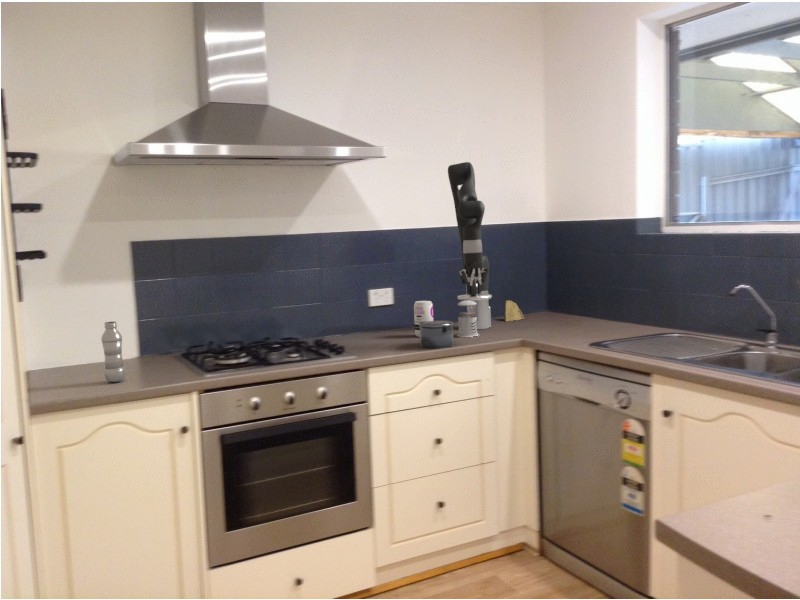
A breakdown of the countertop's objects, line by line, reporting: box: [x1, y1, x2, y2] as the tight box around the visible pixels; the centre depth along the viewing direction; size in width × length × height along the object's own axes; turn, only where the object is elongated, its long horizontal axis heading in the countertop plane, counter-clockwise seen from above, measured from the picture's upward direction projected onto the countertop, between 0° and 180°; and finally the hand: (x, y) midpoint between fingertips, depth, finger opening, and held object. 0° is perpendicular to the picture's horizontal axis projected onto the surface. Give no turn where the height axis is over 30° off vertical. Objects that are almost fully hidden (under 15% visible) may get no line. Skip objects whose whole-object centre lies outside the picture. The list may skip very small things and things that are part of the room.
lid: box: [457, 282, 493, 301], centre depth 270 cm, size 14×14×6 cm
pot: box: [419, 320, 454, 349], centre depth 266 cm, size 14×17×9 cm
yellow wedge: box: [504, 299, 525, 322], centre depth 329 cm, size 11×9×10 cm
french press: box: [456, 285, 480, 338], centre depth 287 cm, size 10×12×25 cm
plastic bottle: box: [101, 321, 126, 383], centre depth 223 cm, size 6×7×20 cm
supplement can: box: [413, 300, 434, 338], centre depth 292 cm, size 8×8×15 cm
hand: (474, 294), depth 270 cm, fingers closed on lid, 3 cm apart
